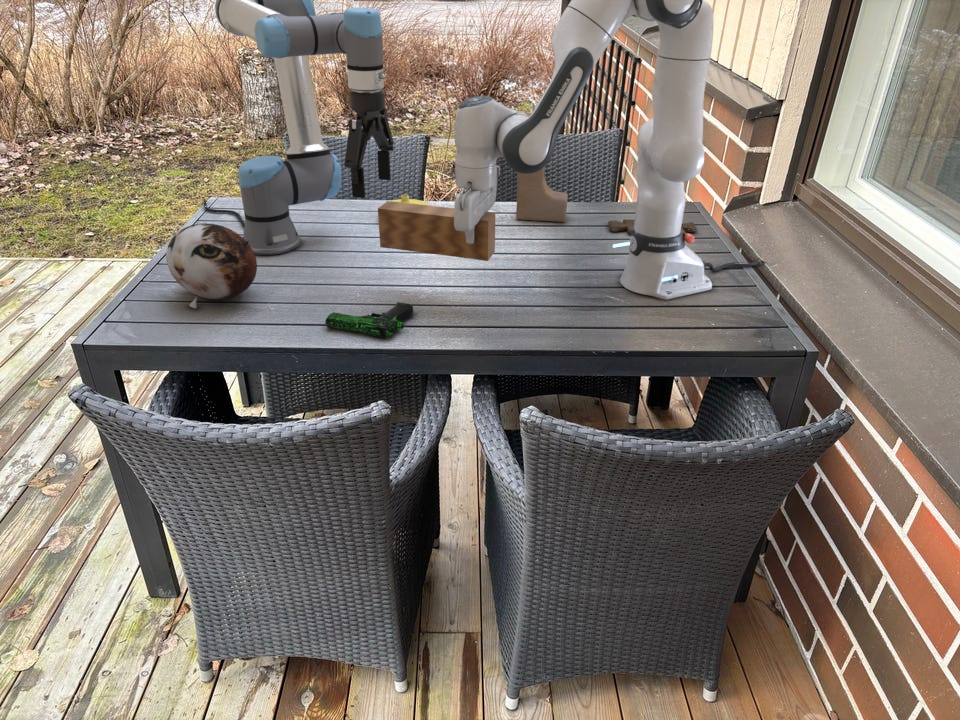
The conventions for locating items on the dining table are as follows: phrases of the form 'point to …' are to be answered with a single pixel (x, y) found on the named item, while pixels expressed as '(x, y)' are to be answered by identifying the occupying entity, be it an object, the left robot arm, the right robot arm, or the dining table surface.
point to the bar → (433, 231)
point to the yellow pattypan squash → (410, 200)
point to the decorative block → (539, 198)
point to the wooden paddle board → (628, 225)
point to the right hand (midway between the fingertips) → (475, 236)
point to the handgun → (373, 321)
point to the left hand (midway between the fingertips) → (372, 188)
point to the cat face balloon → (211, 261)
